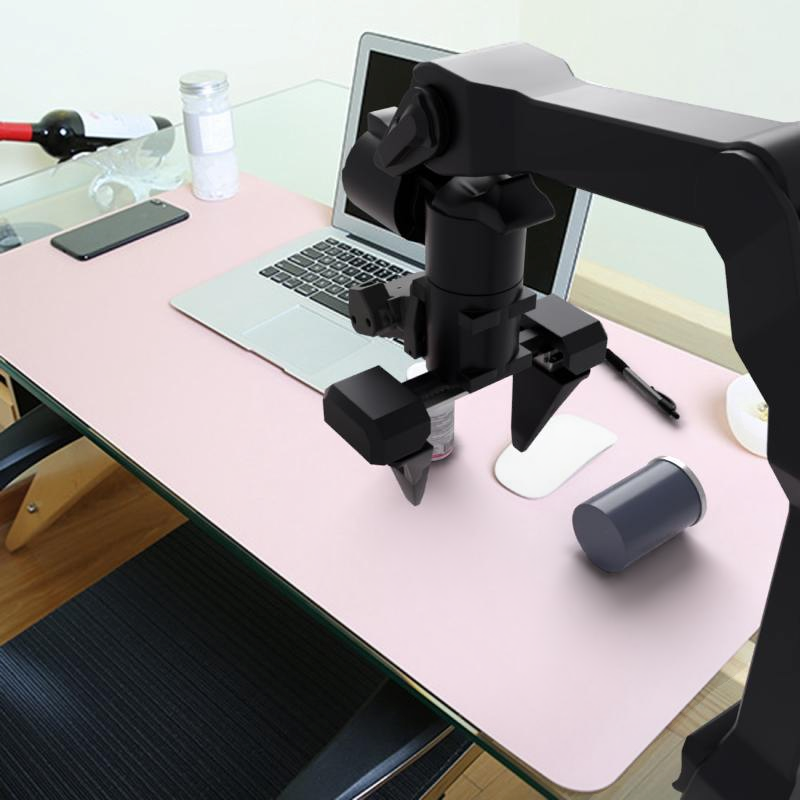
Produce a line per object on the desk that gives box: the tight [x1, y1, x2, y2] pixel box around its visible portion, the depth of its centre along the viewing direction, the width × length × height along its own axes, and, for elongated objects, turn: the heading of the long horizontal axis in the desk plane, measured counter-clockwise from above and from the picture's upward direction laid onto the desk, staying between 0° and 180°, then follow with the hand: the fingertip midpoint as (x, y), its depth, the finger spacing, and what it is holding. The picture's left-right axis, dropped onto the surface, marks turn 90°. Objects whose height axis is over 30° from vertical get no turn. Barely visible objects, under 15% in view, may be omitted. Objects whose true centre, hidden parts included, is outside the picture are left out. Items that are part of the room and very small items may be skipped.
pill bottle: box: [405, 361, 456, 462], centre depth 87 cm, size 5×5×8 cm
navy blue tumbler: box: [571, 455, 708, 573], centre depth 77 cm, size 6×6×9 cm
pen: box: [605, 347, 681, 421], centre depth 97 cm, size 14×2×1 cm, turn 23°
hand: (467, 474), depth 65 cm, fingers open, 9 cm apart
